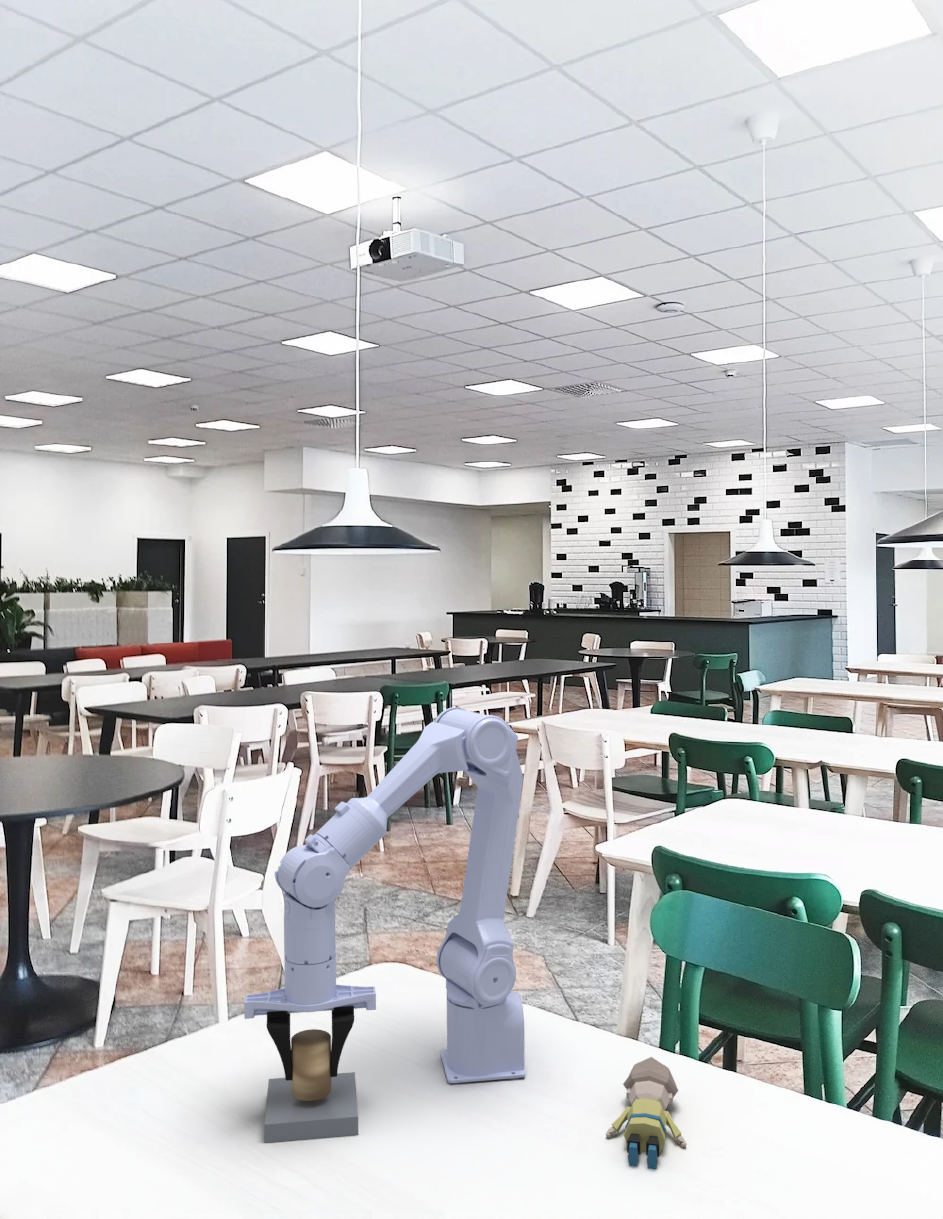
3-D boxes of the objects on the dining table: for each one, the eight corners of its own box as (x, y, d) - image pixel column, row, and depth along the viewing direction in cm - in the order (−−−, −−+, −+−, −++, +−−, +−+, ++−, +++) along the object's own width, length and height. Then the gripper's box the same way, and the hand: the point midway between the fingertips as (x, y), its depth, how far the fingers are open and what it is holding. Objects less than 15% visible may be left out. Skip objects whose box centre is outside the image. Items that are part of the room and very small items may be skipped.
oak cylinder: (335, 1081, 117) (334, 1030, 117) (326, 1101, 112) (325, 1048, 112) (297, 1079, 117) (297, 1028, 117) (287, 1099, 113) (286, 1046, 113)
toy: (684, 1182, 104) (689, 1099, 118) (684, 1131, 103) (689, 1055, 118) (601, 1170, 106) (615, 1091, 120) (600, 1121, 105) (615, 1047, 120)
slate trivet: (355, 1088, 121) (354, 1072, 121) (358, 1134, 111) (358, 1116, 111) (269, 1095, 120) (268, 1078, 119) (264, 1142, 110) (264, 1124, 110)
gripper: (373, 938, 120) (374, 1052, 120) (246, 946, 118) (248, 1062, 118) (376, 961, 113) (377, 1082, 113) (242, 969, 111) (243, 1093, 111)
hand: (311, 1074), depth 115 cm, fingers closed on oak cylinder, 4 cm apart
